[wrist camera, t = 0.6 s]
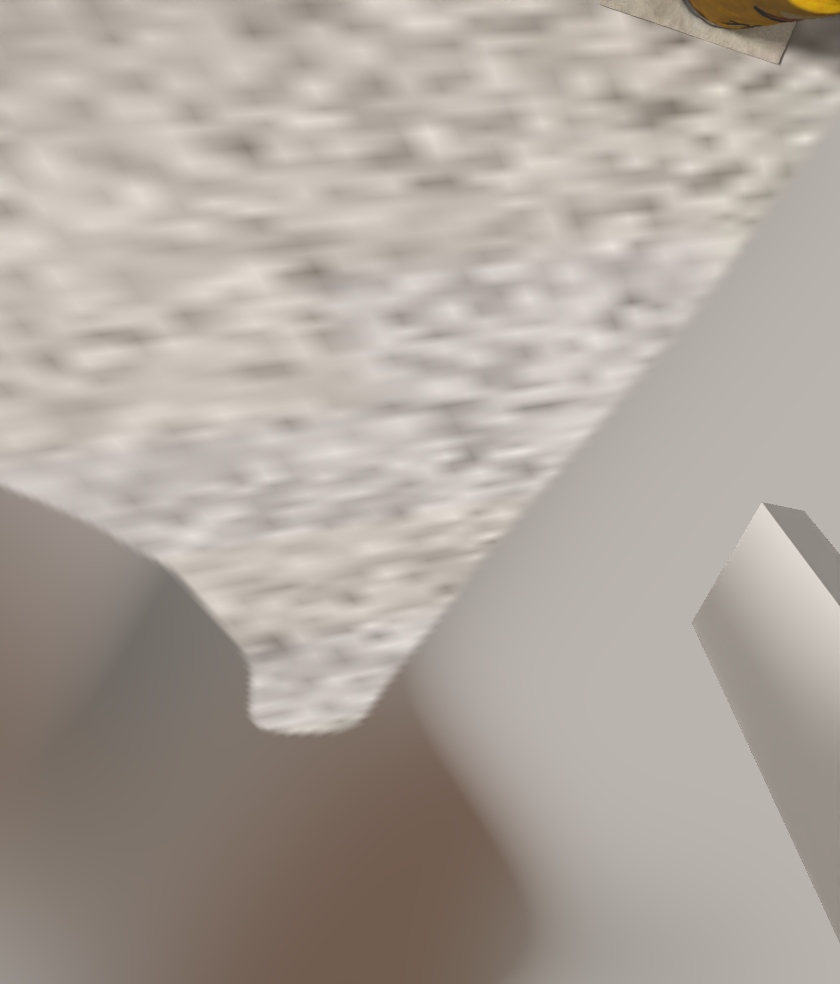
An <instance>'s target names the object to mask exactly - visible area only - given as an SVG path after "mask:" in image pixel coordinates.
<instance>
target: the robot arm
mask: <svg viewBox="0 0 840 984" xmlns="http://www.w3.org/2000/svg"><path fill="white" fill-rule="evenodd" d="M692 625H693V627H694V629H695V631H696V633H697V635H698V637H699V640H700V642H701V644H702V646H703V648H704V650H705V653H706V655H707V657H708V659H709V661H710V663H711V666H712V668H713V670H714V672H715V674H716V676H717V678H718V681H719V683H720V685H721V687H722V689H723V691H724V694H725V696H726V698H727V700H728V702H729V704H730V707H731V709H732V711H733V713H734V715H735V717H736V720H737V722H738V724H739V726H740V728H741V730H742V732H743V735H744V737H745V739H746V741H747V743H748V745H749V748H750V750H751V752H752V754H753V756H754V758H755V760H756V763H757V765H758V767H759V769H760V771H761V773H762V776H763V778H764V780H765V782H766V784H767V786H768V788H769V791H770V793H771V795H772V797H773V799H774V802H775V804H776V806H777V808H778V810H779V812H780V814H781V816H782V819H783V821H784V823H785V825H786V827H787V830H788V832H789V834H790V836H791V838H792V840H793V843H794V845H795V847H796V849H797V851H798V853H799V855H800V858H801V859H802V862H803V864H804V866H805V869H806V870H807V873H808V875H809V877H810V879H811V881H812V884H813V886H814V888H815V890H816V892H817V894H818V897H819V898H820V900H821V903H822V905H823V907H824V909H825V912H826V914H827V916H828V918H829V920H830V922H831V925H832V927H833V929H834V931H835V933H836V935H837V938H838V940H839V942H840V554H839V553H838V552H837V550H836V549H835V548H834V547H833V545H832V544H831V543H830V542H829V541H828V539H827V538H826V537H825V536H824V535H823V533H822V532H821V531H820V530H819V529H818V527H817V526H816V525H815V524H814V523H813V522H812V520H811V519H810V518H809V516H808V515H807V514H806V513H805V512H804V511H801V510H796V509H792V508H787V507H782V506H777V505H773V504H768V503H763V502H762V503H761V505H760V506H759V508H758V510H757V511H756V513H755V515H754V517H753V518H752V520H751V522H750V523H749V525H748V527H747V529H746V530H745V532H744V534H743V535H742V537H741V539H740V541H739V542H738V544H737V546H736V547H735V549H734V551H733V553H732V555H731V556H730V558H729V560H728V561H727V563H726V565H725V566H724V568H723V570H722V572H721V574H720V575H719V577H718V578H717V580H716V582H715V584H714V585H713V587H712V589H711V591H710V592H709V594H708V596H707V597H706V599H705V601H704V602H703V604H702V606H701V608H700V609H699V611H698V613H697V614H696V616H695V618H694V620H693V621H692Z"/></svg>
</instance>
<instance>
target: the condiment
mask: <svg viewBox="0 0 840 984" xmlns="http://www.w3.org/2000/svg"><path fill="white" fill-rule="evenodd" d="M600 5H603V6H606V7H609V8H612V9H615V10H618V11H621V12H624V13H627V14H629V15H633V16H636V17H639V18H642V19H645V20H648V21H651V22H654V23H657V24H659V25H663V26H666V27H669V28H671V29H674V30H677V31H680V32H683V33H686V34H689V35H692V36H694V37H697V38H700V39H703V40H706V41H709V42H712V43H715V44H718V45H721V46H724V47H727V48H730V49H733V50H736V51H739V52H742V53H745V54H748V55H751V56H754V57H757V58H760V59H763V60H766V61H769V62H773V63H776V64H778V63H779V61H780V59H781V56H782V54H783V52H784V50H785V47H786V45H787V43H788V41H789V39H790V37H791V34H792V32H793V29H794V27H795V25H796V23H797V21H801V20H804V19H815V18H823V17H826V16H835V15H838V14H840V0H601V2H600Z"/></svg>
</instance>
